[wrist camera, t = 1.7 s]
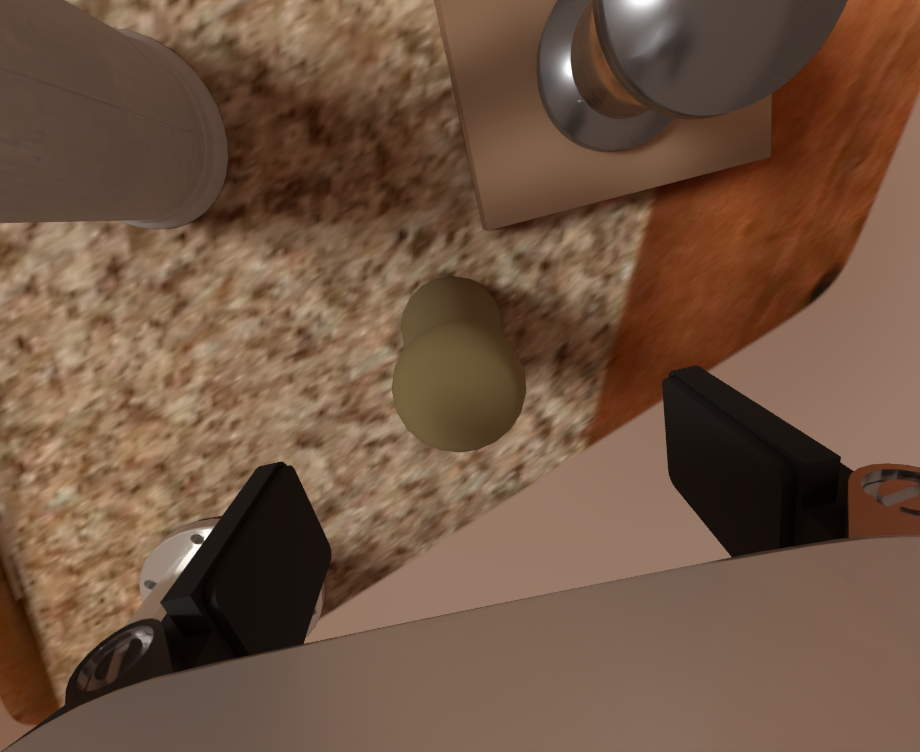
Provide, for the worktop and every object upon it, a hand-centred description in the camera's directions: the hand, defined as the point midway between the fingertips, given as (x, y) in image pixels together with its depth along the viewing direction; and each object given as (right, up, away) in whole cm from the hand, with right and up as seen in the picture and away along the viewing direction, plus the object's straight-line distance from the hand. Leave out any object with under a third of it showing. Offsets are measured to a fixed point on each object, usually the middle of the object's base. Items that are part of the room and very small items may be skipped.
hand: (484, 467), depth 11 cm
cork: (-1, +5, +15) cm, 16 cm away
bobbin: (+6, +16, +8) cm, 19 cm away
